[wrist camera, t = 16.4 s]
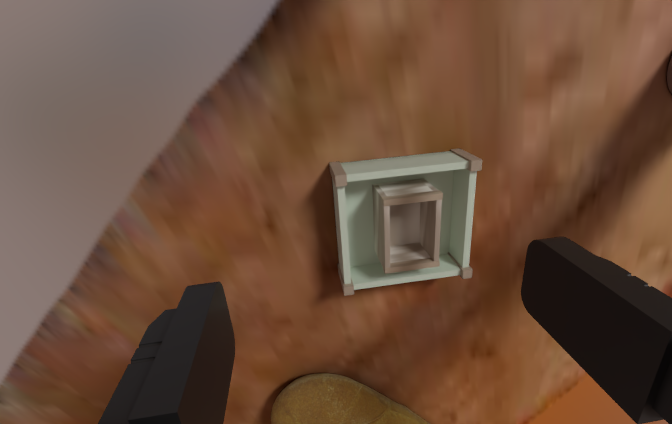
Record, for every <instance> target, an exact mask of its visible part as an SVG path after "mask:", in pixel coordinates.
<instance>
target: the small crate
mask: <svg viewBox="0 0 672 424" xmlns="http://www.w3.org/2000/svg"><path fill="white" fill-rule="evenodd" d="M372 192H373V222H374V250H375V252H376V254H377V256H378V259H379V261H380V263H381V265H382V267H383V270H384V272H385V274H387V273H394V272H402V271H409V270H416V269H424V268H431V267H439V266H440V261H439V250H440V229H441V208H442V199H443V193H442V192H441V191H440V190H437V189H436V188H435V187H434V186H433V185H431V184H430V183H429V182H428V181H426V180H425V179H424V178H423V179H414V180H405V181H396V182H387V183H378V184H372Z"/></svg>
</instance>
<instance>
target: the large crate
mask: <svg viewBox="0 0 672 424" xmlns="http://www.w3.org/2000/svg"><path fill="white" fill-rule="evenodd" d="M329 167H330V174H331V176H332V183H333V195H334V207H335V220H336V232H337V244H338V257H339V264H338V273H339V277H340V281H341V284H342V288H343V292H344V296H346V295H353V294H354V290H357V289H364V288H371V287H378V286H385V285H393V284H400V283H407V282H414V281H421V280H428V279H435V278H442V277H449V276H456V275H460V276H461V278H462V279H466V278H472V270H473V269H472V268H471V267H470V266H469V258H470V246H471V234H472V222H473V210H474V198H475V186H476V175H477V171H480V170H482V159H480V158H478V157H476V156H474V155H472V154H470V153H468V152H466V151H464V150H462V149H452V150H450V151H448V152H439V153H429V154H420V155H411V156H401V157H392V158H383V159H373V160H364V161H355V162H345V163H340V162H330V163H329ZM423 178H424V179H425V180H426V181H428V182H429V183H430V184H431V185H433V186H434V187H435V188H436V189H437V190H440V191H441V192H442V193H443V199H442V208H441V229H440V250H439V261H440V266H439V267H431V268H424V269H416V270H409V271H402V272H394V273H387V274H385V272H384V270H383V267H382V265H381V263H380V261H379V259H378V256H377V254H376V252H375V250H374V222H373V192H372V184H378V183H387V182H396V181H405V180H414V179H423Z"/></svg>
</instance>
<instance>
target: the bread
mask: <svg viewBox="0 0 672 424" xmlns="http://www.w3.org/2000/svg"><path fill="white" fill-rule="evenodd" d="M271 424H430V423H428V422H426V421H425V420H424V419H422V418H421V417H420V416H418V415H417V414H415V413H414V412H412V411H411V410H409V409H408V408H407V407H406V406H404V405H401V404H398V403H397V402H394V401H392V400H391V399H389V398H387V397H386V396H384V395H382V394H380V393H379V392H377V391H375V390H374V389H372V388H370V387H368V386H366V385H364V384H361V383H359V382H357V381H354V380H353V379H351V378H348V377H346V376H342V375H337V374H331V373H319V374H310V375H306V376H303V377H300V378H298V379H296V380H294V381H293V382H292V383H290V384H289V385H288V386H287V387H286V388H284V389H283V390H282V391H281V393H280V394H279V395H278V397H277V398H276V400H275V402H274V404H273V407H272V411H271Z"/></svg>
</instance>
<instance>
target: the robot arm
mask: <svg viewBox="0 0 672 424" xmlns="http://www.w3.org/2000/svg"><path fill="white" fill-rule="evenodd" d="M667 83H668V87H669V90H670V92H671V94H672V57H671V60H670V63H669V66H668V71H667ZM521 296H522V301H523V304H524V306H525V308H526V310H527V311H528V313H529V314H530V315H531V316H532V317H533V318H534V319H535V320H536V321H537V322H538V323H539V324H540V325H541V326H542V327H543V328H544V329H545V330H546V331H547V332H548V333H549V334H550V335H551V336H552V337H553V338H554V339H555V340H556V342H557V343H558V344H559V345H560V346H561V347H562V348H563V349H564V350H565V351H566V352H567V353H568V354H569V355H570V356H571V357H572V358H573V359H574V360H575V361H576V362H577V363H578V364H579V365H580V366H581V367H582V368H583V369H584V370H585V371H586V372H587V373H588V374H589V375H590V376H591V377H592V378H593V379H594V380H595V381H596V383H598V385H599V386H600V387H601V388H602V389H603V390H604V391H605V392H606V393H607V394H608V395H609V396H610V397H611V398H612V399H613V400H614V401H615V402H616V403H617V404H618V405H619V406H620V407H621V408H622V409H623V410H624V411H625V412H626V413H627V414H628V415H629V416H630V417H631V418H632V419H633V420H634V421H635V422H636V423H637V424H642V423H648V422H653V421H658V420H663V419H664V420H666V421H667V422H668V423H669V424H672V298H671V297H669V296H667V295H666V294H664V293H662V292H661V291H659V290H657V289H656V288H654V287H652V286H651V287H649V286H648V283H646V282H644V281H643V280H641V279H639V278H638V277H636V276H631V273H629V272H628V271H626V270H625V269H623V268H621V267H620V266H618V265H616V264H615V263H613V262H611V261H609V260H606V259H604V258H601V257H598V256H596V255H594V254H592V253H591V252H589V251H587V250H586V249H584V248H583V247H581V246H579V245H578V244H576V243H575V242H573V241H571V240H570V239H568V238H566V237H555V238H547V239H540V240H534V241H532V242H531V243H530V244H529V246H528V249H527V255H526V262H525V268H524V274H523V281H522V287H521ZM234 357H235V339H234V332H233V327H232V323H231V319H230V315H229V310H228V306H227V302H226V298H225V294H224V289H223V286H222V284H221V283H220V282H213V283H206V284H198V285H191V286H187V287H186V289H185V291H184V293H183V296H182V298H181V300H180V302H179V305H178V307H177V309H170V310H165V311H164V312H163V313H162V314H161V315H160V316H159V317H158V318H157V319H156V320H155V321H154V322H152V323H151V324H150V325H149V326H148V328H147V330H146V332H145V334H144V336H143V338H142V340H141V342H140V344H139V348H137V349H136V351H135V353H134V355H133V357H132V359H131V364H129V365H128V367H127V369H126V371H125V373H124V375H123V376H122V378H121V380H120V382H119V384H118V386H117V388H116V390H115V392H114V394H113V396H112V398H111V400H110V402H109V404H108V405H107V407H106V409H105V411H104V413H103V415H102V417H101V419H100V421H99V423H98V424H223V422H224V416H225V410H226V404H227V398H228V392H229V386H230V381H231V375H232V369H233V363H234Z"/></svg>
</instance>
